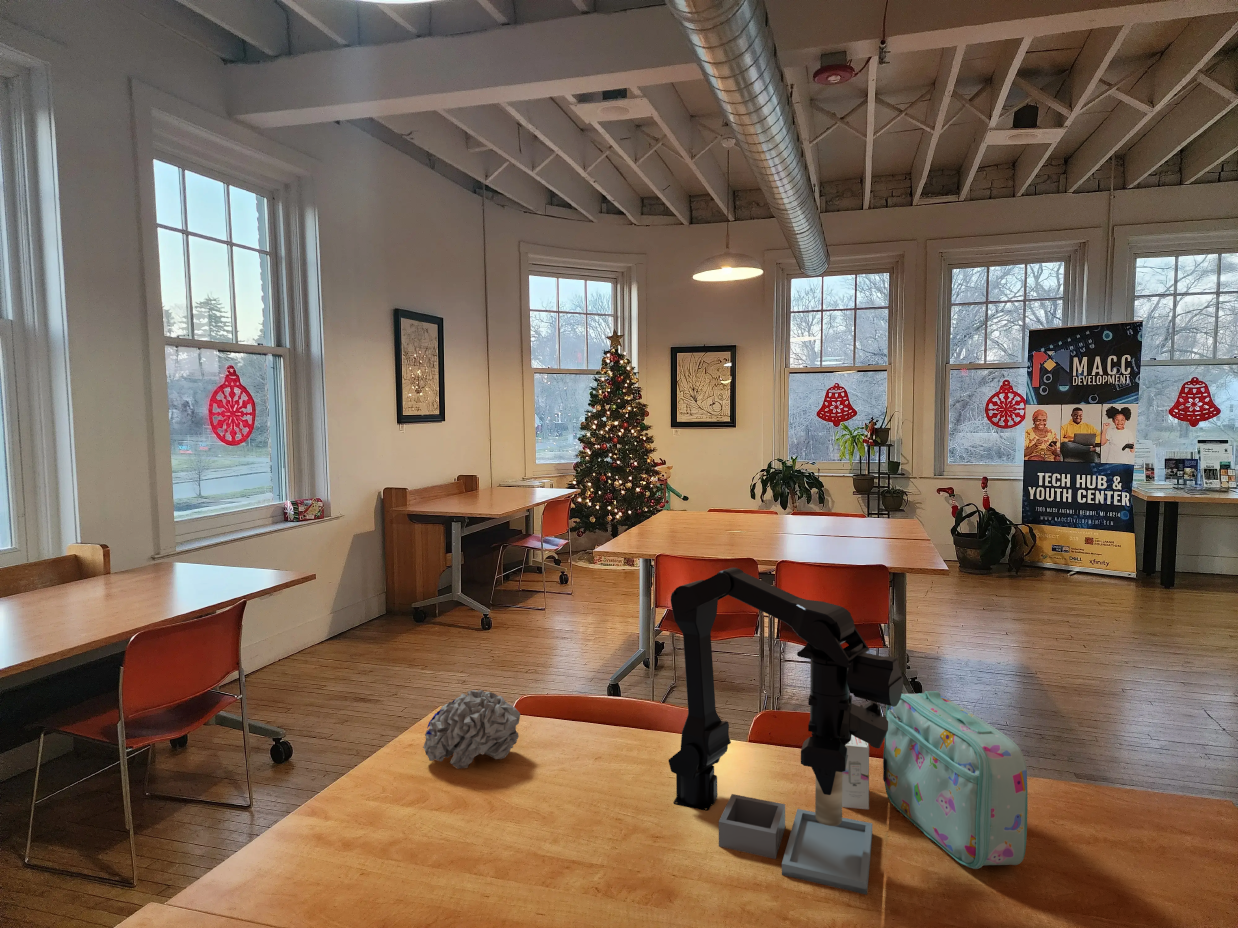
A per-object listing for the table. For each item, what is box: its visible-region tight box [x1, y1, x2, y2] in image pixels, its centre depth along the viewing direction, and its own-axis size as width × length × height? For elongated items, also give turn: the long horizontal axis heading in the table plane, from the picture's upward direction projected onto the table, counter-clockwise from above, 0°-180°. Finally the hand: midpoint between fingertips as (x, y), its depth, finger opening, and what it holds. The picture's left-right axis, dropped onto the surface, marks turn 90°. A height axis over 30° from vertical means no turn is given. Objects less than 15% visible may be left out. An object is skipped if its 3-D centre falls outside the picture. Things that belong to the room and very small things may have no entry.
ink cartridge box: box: [842, 735, 870, 810], centre depth 125 cm, size 9×5×15 cm, turn 168°
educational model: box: [422, 689, 521, 770], centre depth 142 cm, size 14×20×15 cm
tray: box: [781, 808, 873, 896], centre depth 109 cm, size 12×16×2 cm
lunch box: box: [882, 690, 1029, 870], centre depth 115 cm, size 27×10×21 cm, turn 12°
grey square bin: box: [718, 793, 786, 860], centre depth 113 cm, size 9×9×4 cm
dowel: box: [814, 771, 843, 826], centre depth 108 cm, size 4×4×10 cm
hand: (828, 787), depth 108 cm, fingers closed on dowel, 4 cm apart
